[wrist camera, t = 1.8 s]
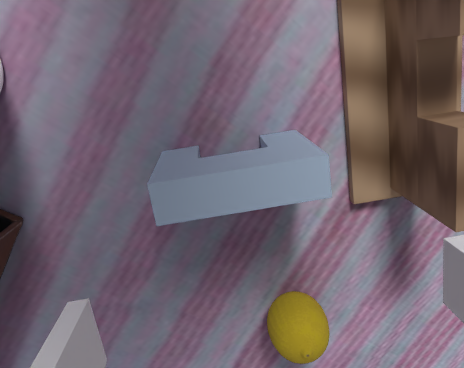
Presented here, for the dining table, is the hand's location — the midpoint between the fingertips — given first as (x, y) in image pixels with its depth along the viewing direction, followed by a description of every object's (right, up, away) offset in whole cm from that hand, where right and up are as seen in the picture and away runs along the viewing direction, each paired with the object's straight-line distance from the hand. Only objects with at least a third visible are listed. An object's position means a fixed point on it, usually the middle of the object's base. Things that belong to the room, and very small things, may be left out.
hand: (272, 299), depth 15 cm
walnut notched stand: (+13, +14, +20) cm, 28 cm away
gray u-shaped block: (-1, +7, +21) cm, 22 cm away
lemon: (+4, -8, +26) cm, 28 cm away
